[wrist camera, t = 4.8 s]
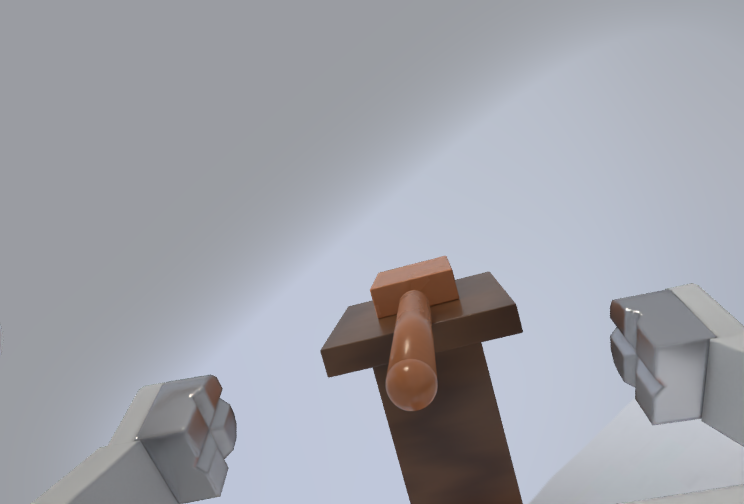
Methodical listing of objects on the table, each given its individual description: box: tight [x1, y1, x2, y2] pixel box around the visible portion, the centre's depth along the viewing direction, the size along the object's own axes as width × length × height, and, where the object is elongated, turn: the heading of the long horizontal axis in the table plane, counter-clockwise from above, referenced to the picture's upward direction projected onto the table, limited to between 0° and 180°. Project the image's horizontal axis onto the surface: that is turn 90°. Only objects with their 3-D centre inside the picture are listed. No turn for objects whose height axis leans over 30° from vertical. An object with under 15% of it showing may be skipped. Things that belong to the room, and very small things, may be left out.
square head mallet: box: [370, 256, 459, 411], centre depth 25 cm, size 5×20×2 cm, turn 175°
